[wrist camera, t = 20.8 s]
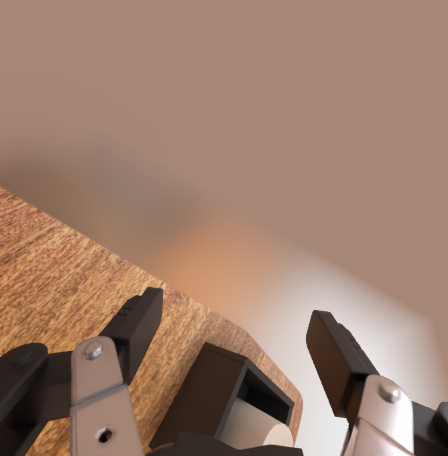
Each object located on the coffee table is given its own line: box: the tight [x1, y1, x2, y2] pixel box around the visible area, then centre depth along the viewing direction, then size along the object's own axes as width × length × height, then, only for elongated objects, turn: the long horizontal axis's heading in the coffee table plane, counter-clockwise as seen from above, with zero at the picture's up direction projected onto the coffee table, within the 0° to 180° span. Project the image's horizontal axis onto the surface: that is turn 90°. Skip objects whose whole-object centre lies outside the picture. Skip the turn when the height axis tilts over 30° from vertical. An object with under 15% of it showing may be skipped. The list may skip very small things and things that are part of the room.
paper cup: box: [219, 397, 293, 450], centre depth 22 cm, size 6×6×16 cm
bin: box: [149, 342, 294, 450], centre depth 26 cm, size 12×12×8 cm
